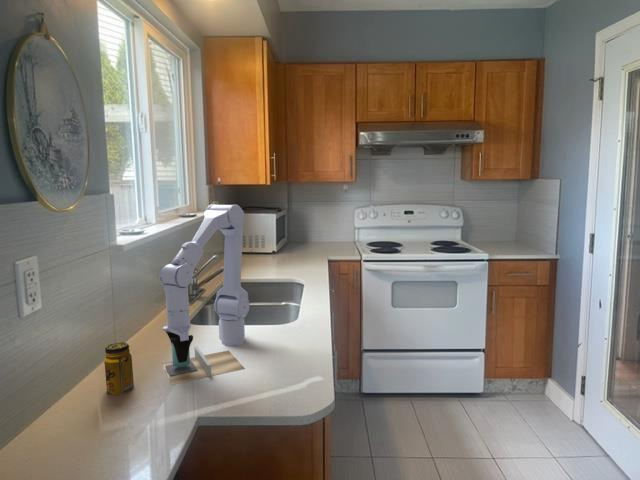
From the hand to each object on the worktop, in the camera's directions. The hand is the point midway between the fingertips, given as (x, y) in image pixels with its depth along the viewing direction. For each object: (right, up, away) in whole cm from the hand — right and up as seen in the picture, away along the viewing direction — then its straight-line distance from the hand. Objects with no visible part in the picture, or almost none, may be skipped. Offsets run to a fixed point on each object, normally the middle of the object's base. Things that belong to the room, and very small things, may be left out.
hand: (180, 358), depth 119 cm
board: (+5, -4, +2) cm, 7 cm away
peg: (0, -1, 0) cm, 2 cm away
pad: (0, -3, 0) cm, 3 cm away
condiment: (-11, -6, -10) cm, 16 cm away
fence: (+5, -3, +2) cm, 6 cm away
